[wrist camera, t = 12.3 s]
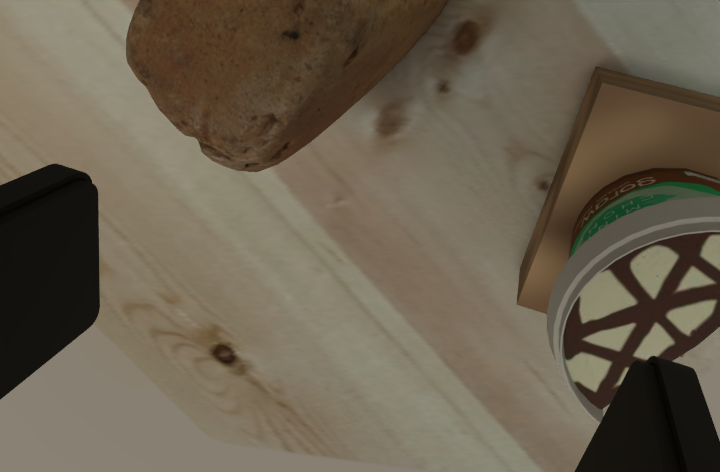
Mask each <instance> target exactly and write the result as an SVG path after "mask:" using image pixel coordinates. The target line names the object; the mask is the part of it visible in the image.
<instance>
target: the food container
mask: <svg viewBox="0 0 720 472" xmlns="http://www.w3.org/2000/svg"><path fill="white" fill-rule="evenodd" d="M719 327H720V180H719V179H718V178H716V177H713V176H709V175H706V174H703V173H700V172H696V171H693V170H690V169H687V168H651V169H647V170H643V171H640V172H636V173H632V174H628V175H624V176H622V177H621V178H619V179H617V180H615V181H614V182H612V183H610V184H608V185H606V186H605V187H603V188H602V189H601V190H600V191H599V192H597V193H596V194H595V195H594V196H593V197H592V198H591V199H590V200H589V201H588V203H587V204H586V205H585V206H584V208H583V209H582V211H581V213H580V214H579V216H578V218H577V221H576V223H575V226H574V229H573V234H572V239H571V246H570V253H569V260H568V261H567V263H566V264H565V266H564V267H563V269H562V271H561V272H560V274H559V275H558V277H557V280H556V282H555V285H554V287H553V289H552V292H551V295H550V300H549V305H548V310H547V332H548V337H549V343H550V347H551V350H552V353H553V355H554V358H555V361H556V363H557V366H558V369H559V371H560V374H561V377H562V379H563V381H564V382H565V384H566V386H567V387H568V389H569V391H570V393H571V394H572V395H573V396H574V398H575V399H576V400H577V401H578V403H579V404H580V405H581V406H582V407H583V409H584V410H585V411H586V412H587V413H588V415H589V416H590V417H592V418H593V419H594V420H595V421H596V422H597V423H598V424H600V423H601V421H602V419H603V408H604V407H606V406H607V405H608V404H610V403H611V402H612V400H613V398H614V396H615V394H616V392H617V390H618V388H619V387H620V385H621V383H622V381H623V379H624V377H625V375H626V373H627V371H628V369H629V368H630V366H631V364H632V363H633V362H634V361H636V360H638V361H641V362H646V360H647V359H648V358H649V357H651V356H657V357H660V358H663V359H666V360H669V361H673V360H674V359H676V358H678V357H679V356H681V355H682V354H684V353H686V352H687V351H689V350H690V349H692V348H694V347H695V346H697V345H698V344H699V343H701V342H702V341H703V340H704V339H705V338H707V337H708V336H709V335H710V334H712V333H713V332H714V331H715V330H716V329H717V328H719Z"/></svg>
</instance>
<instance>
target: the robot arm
mask: <svg viewBox="0 0 720 472" xmlns="http://www.w3.org/2000/svg"><path fill="white" fill-rule="evenodd" d="M99 308H100V297H99V227H98V190H97V188H96V186H95V185H94V184H92V180H91V178H90V176H89V175H87V174H86V173H84V172H81V171H78V170H75V169H72V168H68V167H65V166H62V165H59V164H51V165H48V166H46V167H43V168H41V169H39V170H36V171H34V172H31V173H29V174H27V175H24V176H22V177H19V178H17V179H15V180H12V181H10V182H8V183H5V184H3V185H0V399H1V398H3V397H4V396H5V395H6V394H8V393H9V392H10V391H11V390H13V389H14V388H15V387H16V386H18V385H19V384H20V383H21V382H23V381H24V380H25V379H26V378H27V377H29V376H30V375H31V374H32V373H34V372H35V371H36V370H37V369H38V368H40V367H41V366H42V365H44V364H45V363H46V362H47V361H48V360H50V359H51V358H52V357H53V356H55V355H56V354H57V353H58V352H60V351H61V350H62V349H63V348H64V347H66V346H67V345H68V344H70V343H71V342H72V341H73V340H75V339H76V338H77V337H78V336H79V335H80V334H82V333H83V332H84V331H86V330H87V329H88V328H89V327H90V326H91V325H92V324H93V323H94V322H95V320H96V318H97V316H98V313H99ZM575 472H720V441H719V438H718V435H717V432H716V429H715V427H714V424H713V421H712V418H711V415H710V412H709V409H708V406H707V403H706V401H705V398H704V395H703V393H702V389H701V386H700V383H699V380H698V377H697V375H696V372H695V371H694V369H693V368H691V367H688V366H685V365H682V364H678V363H675V362H672V361H669V360H666V359H663V358H660V357H657V356H651V357H649V358H648V359H647V360H646V362H641V361H638V360H636V361H634V362H633V363H632V364H631V366H630V368H629V369H628V371H627V373H626V375H625V377H624V379H623V381H622V383H621V385H620V387H619V388H618V390H617V392H616V394H615V396H614V398H613V400H612V402H611V404H610V406H609V407H608V409H607V411H606V413H605V415H604V417H603V419H602V421H601V423H600V424H599V426H598V428H597V430H596V432H595V434H594V436H593V438H592V440H591V442H590V443H589V445H588V447H587V449H586V451H585V453H584V455H583V457H582V459H581V461H580V462H579V464H578V466H577V468H576V470H575Z"/></svg>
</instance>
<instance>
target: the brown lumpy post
mask: <svg viewBox="0 0 720 472" xmlns="http://www.w3.org/2000/svg"><path fill="white" fill-rule="evenodd" d="M447 1H448V0H140V1H139V3H138V5H137V7H136V9H135V11H134V14H133V17H132V20H131V23H130V25H129V29H128V34H127V38H126V57H127V62H128V64H129V66H130V67H131V69H132V71H133V72H134V74H135V75H136V77H137V78H138V80H139V81H140V82H141V83H143V84H144V85H145V86H146V88H147V89H148V91H149V93H150V95H151V97H152V99H153V100H154V102H155V104H156V105H157V107H158V108H159V110H160V111H161V112H162V113H163V114H164V115H165V116H166V117H167V118H168V119H169V120H170V121H171V123H172V124H173V125H174V126H175V127H176V128H177V129H178V130H179V131H180V132H182V133H183V134H184V135H186V136H191V137H195V138H196V139H197V140H198V142H199V144H200V147H201V150H202V153H204V154H205V155H206V156H207V157H208V158H210V159H211V160H212V161H214V162H216V163H218V164H221V165H223V166H225V167H228V168H231V169H234V170H238V171H248V172H259V171H261V170H264V169H266V168H269V167H272V166H274V165H277V164H279V163H280V162H282V161H284V160H285V159H287V158H289V157H290V156H291V155H293V154H294V153H296V152H297V151H298V150H300V149H301V148H303V147H304V146H306V145H307V144H308V143H309V142H311V141H312V140H313V139H315V138H316V137H317V136H318V135H319V134H321V133H322V132H323V131H324V130H326V129H327V128H328V127H329V126H330V125H331V124H333V123H334V122H335V121H336V120H337V119H338V118H340V117H341V116H342V115H343V114H344V113H345V112H346V111H347V110H348V109H350V108H351V107H352V106H353V105H354V104H355V103H356V102H358V101H359V100H360V99H361V98H362V97H363V96H364V95H365V94H366V93H367V92H369V91H370V90H371V89H372V88H373V87H374V86H375V85H376V84H377V83H378V82H379V81H380V80H381V79H382V78H383V77H384V76H385V75H386V74H387V73H388V72H389V71H390V70H391V69H393V68H394V67H395V66H396V64H397V63H398V62H399V61H400V60H401V59H402V58H403V57H404V56H405V55H406V54H407V53H408V51H409V50H410V49H411V48H412V47H413V46H414V44H415V43H416V42H417V41H418V40H419V39H420V38H421V36H423V35H424V34H425V32H426V31H427V30H428V29H429V27H430V26H431V25H432V24H433V22H434V21H435V20H436V18H437V17H438V15H439V14H440V12H441V11H442V10H443V8H444V7H445V5H446V3H447Z"/></svg>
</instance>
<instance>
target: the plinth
mask: <svg viewBox="0 0 720 472" xmlns="http://www.w3.org/2000/svg"><path fill="white" fill-rule="evenodd" d="M651 168H687V169H690V170H693V171H696V172H700V173H703V174H706V175H709V176H713V177H716V178H718V179H719V180H720V98H719V97H715V96H711V95H707V94H703V93H699V92H695V91H691V90H687V89H683V88H679V87H675V86H671V85H667V84H663V83H659V82H655V81H651V80H647V79H643V78H639V77H635V76H631V75H627V74H623V73H619V72H615V71H611V70H607V69H603V68H599V67H596V68H595V71H594V73H593V76H592V79H591V81H590V84H589V87H588V89H587V92H586V95H585V97H584V100H583V103H582V105H581V108H580V111H579V113H578V116H577V118H576V121H575V124H574V126H573V129H572V132H571V134H570V137H569V140H568V142H567V145H566V148H565V150H564V153H563V156H562V158H561V161H560V164H559V166H558V169H557V172H556V174H555V177H554V180H553V182H552V185H551V187H550V190H549V193H548V195H547V198H546V201H545V203H544V206H543V209H542V211H541V214H540V217H539V219H538V222H537V225H536V227H535V230H534V233H533V235H532V238H531V241H530V243H529V246H528V249H527V251H526V254H525V256H524V259H523V262H522V264H521V267H520V275H519V286H518V296H517V305H520V306H523V307H527V308H530V309H533V310H536V311H539V312H542V313H545V314H547V310H548V305H549V300H550V295H551V292H552V289H553V287H554V285H555V282H556V280H557V277H558V275H559V274H560V272H561V271H562V269H563V267H564V266H565V264H566V263H567V261H568V260H569V253H570V246H571V239H572V234H573V229H574V226H575V223H576V221H577V218H578V216H579V214H580V213H581V211H582V209H583V208H584V206H585V205H586V204H587V203H588V201H589V200H590V199H591V198H592V197H593V196H594V195H595V194H596V193H597V192H599V191H600V190H601V189H602V188H603V187H605V186H606V185H608V184H610V183H612V182H614V181H615V180H617V179H619V178H621V177H622V176H624V175H628V174H632V173H636V172H640V171H643V170H647V169H651ZM683 355H684V354H682V355H681V356H680V357H683Z"/></svg>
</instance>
